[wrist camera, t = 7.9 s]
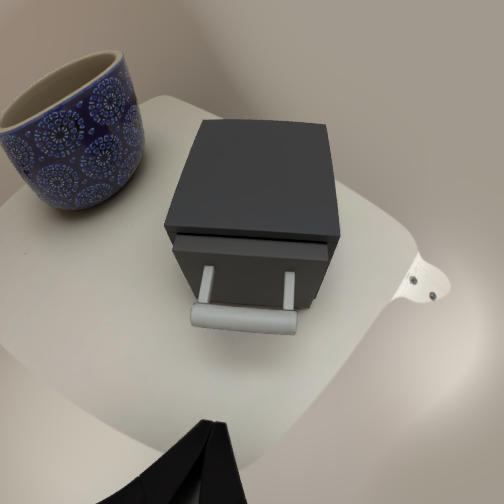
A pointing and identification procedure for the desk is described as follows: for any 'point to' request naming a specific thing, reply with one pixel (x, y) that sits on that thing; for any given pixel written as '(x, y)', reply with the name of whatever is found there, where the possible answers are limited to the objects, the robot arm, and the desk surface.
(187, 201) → the cabinet
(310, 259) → the drawer
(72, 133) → the planter
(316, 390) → the desk surface
